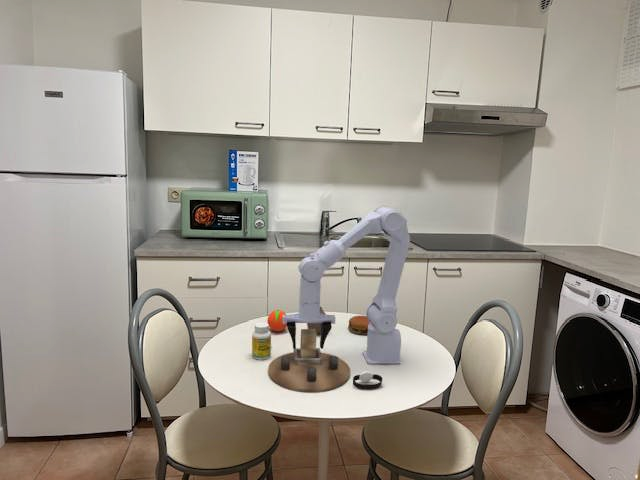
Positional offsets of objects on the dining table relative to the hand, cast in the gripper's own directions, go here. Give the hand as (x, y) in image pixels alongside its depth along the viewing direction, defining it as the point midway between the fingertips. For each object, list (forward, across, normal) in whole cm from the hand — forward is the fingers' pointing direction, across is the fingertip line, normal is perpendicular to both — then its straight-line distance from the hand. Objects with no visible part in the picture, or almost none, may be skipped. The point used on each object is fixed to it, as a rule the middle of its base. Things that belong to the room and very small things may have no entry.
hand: (307, 347), depth 131 cm
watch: (+5, -14, +14) cm, 21 cm away
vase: (+5, -5, -22) cm, 23 cm away
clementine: (+5, +8, -23) cm, 25 cm away
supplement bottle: (+5, +13, -4) cm, 14 cm away
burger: (+5, -20, -24) cm, 32 cm away
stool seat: (+4, 0, +6) cm, 7 cm away
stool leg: (+3, 0, 0) cm, 3 cm away
